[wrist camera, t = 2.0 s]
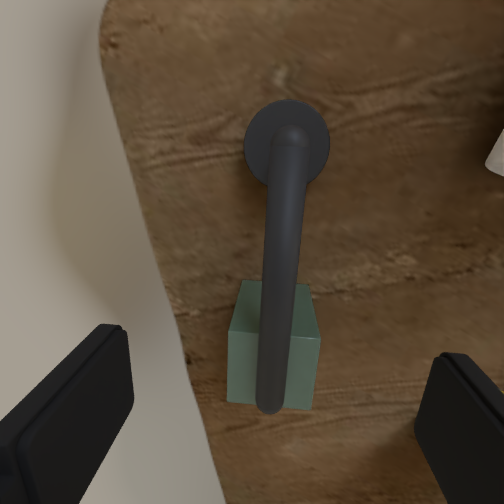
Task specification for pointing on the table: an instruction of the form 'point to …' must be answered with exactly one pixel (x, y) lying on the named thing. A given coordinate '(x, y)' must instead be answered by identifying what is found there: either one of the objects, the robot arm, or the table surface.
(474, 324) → the table surface
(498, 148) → the mug
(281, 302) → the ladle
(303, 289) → the green rectangular block
